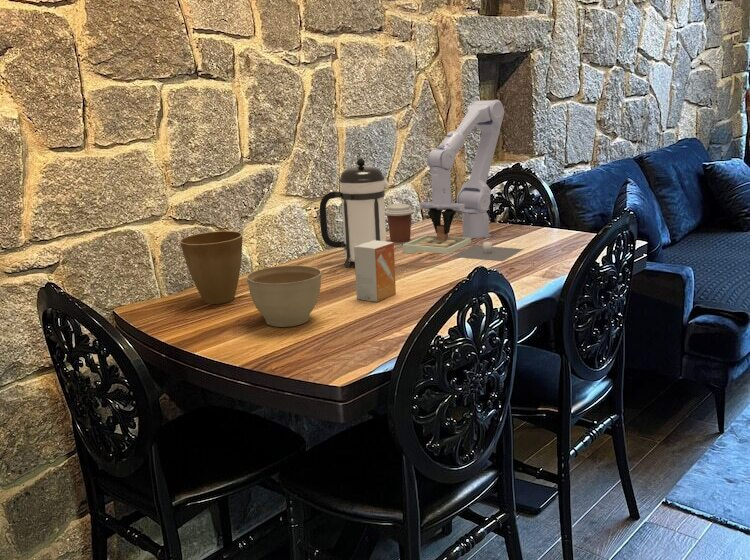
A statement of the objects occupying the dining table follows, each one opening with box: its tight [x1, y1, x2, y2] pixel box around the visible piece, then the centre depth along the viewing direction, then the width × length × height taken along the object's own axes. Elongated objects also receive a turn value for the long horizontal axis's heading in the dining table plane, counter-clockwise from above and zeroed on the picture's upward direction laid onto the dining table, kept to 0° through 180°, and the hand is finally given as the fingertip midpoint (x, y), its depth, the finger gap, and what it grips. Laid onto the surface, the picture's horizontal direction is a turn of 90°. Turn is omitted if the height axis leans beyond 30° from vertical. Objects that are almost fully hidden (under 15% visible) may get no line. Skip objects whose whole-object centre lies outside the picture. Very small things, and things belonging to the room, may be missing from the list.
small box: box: [354, 240, 397, 303], centre depth 172 cm, size 8×6×13 cm
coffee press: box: [319, 158, 391, 269], centre depth 203 cm, size 17×16×30 cm
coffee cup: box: [385, 203, 414, 246], centre depth 231 cm, size 9×9×12 cm
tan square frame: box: [415, 224, 459, 248], centre depth 219 cm, size 10×10×5 cm
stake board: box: [450, 241, 524, 262], centre depth 208 cm, size 16×16×4 cm
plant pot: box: [179, 230, 243, 305], centre depth 175 cm, size 15×15×16 cm
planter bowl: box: [246, 265, 322, 328], centre depth 157 cm, size 16×16×11 cm
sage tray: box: [401, 234, 472, 255], centre depth 220 cm, size 16×16×2 cm
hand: (442, 232), depth 222 cm, fingers closed on tan square frame, 2 cm apart
